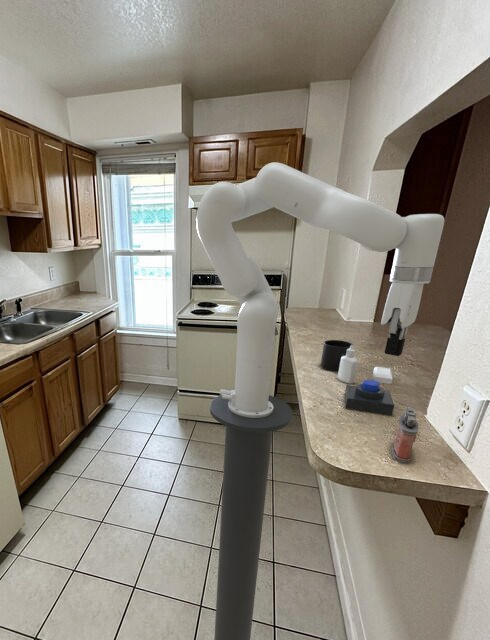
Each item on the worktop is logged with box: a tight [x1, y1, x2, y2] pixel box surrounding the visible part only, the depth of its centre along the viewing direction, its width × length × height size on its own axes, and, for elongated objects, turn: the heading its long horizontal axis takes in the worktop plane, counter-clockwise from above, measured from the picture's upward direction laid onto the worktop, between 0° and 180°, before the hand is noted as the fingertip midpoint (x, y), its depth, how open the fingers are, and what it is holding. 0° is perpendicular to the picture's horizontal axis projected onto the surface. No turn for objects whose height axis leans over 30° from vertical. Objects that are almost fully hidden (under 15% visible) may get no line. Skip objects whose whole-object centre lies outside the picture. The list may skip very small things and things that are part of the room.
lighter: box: [391, 406, 420, 464], centre depth 75 cm, size 8×3×10 cm, turn 151°
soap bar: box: [372, 366, 394, 385], centre depth 117 cm, size 5×9×3 cm, turn 152°
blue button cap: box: [361, 379, 380, 392], centre depth 97 cm, size 4×4×2 cm
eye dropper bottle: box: [337, 344, 359, 385], centre depth 113 cm, size 4×6×12 cm
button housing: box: [344, 383, 395, 416], centre depth 98 cm, size 11×10×5 cm
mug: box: [320, 339, 354, 373], centre depth 124 cm, size 9×12×9 cm
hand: (392, 354), depth 84 cm, fingers closed
